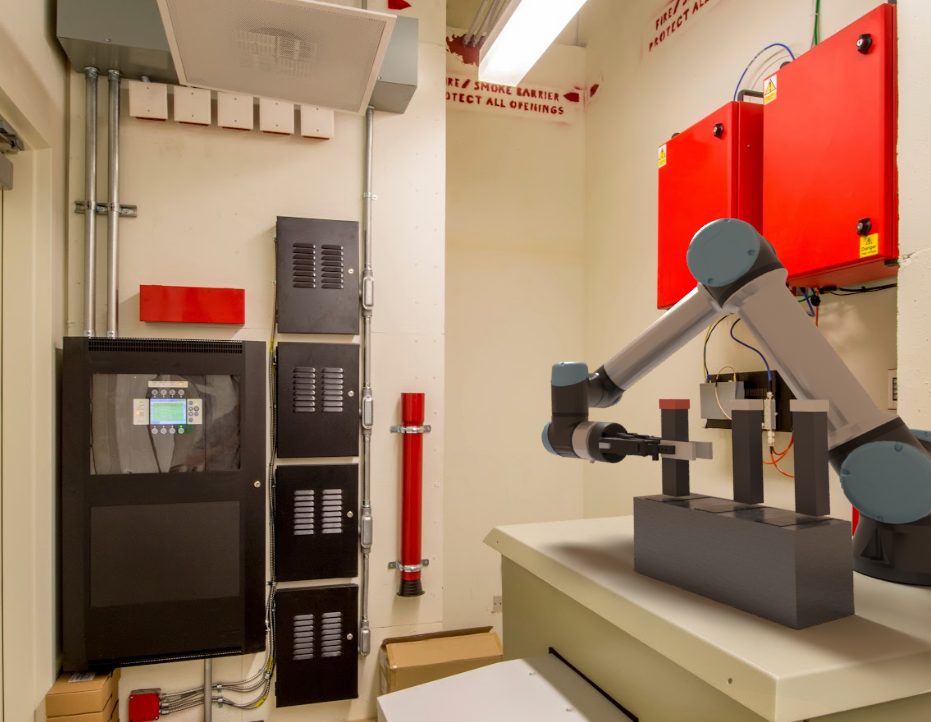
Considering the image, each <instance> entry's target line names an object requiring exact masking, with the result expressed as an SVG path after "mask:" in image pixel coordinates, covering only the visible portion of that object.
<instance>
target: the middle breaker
mask: <svg viewBox="0 0 931 722" xmlns="http://www.w3.org/2000/svg"><path fill="white" fill-rule="evenodd" d="M728 402H729V403H728V407H729V408H728V410H730V413H731V414H730V415H731V417H730V418H731V452H732V453H731V456H732V457H731V459H732V491H733V493H732V497H733V499H732V500H733V502H738V503H744V504H749V505H753V504H760V505H762V504H765V493H764V491H765V489H764V487H765V486H764V455H763V453H764V452H763V451H764V450H763V447H764V446H763V415H762V414H763V413H762V411H764V410H765V409H764V399H763V398H761V399H758V398H757V399H754V398H753V399H752V398H751V399H749V398H745V399H744V398H742V399H741V398H739V399H737V398H736V399H734V398H733V399H732V398H731V399H730V398H729V399H728Z"/></svg>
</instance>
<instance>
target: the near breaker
mask: <svg viewBox="0 0 931 722" xmlns="http://www.w3.org/2000/svg"><path fill="white" fill-rule="evenodd" d="M789 411H790V412H792V436H793V437H792V442H793V444H792V446H793V477H794V480H793V481H794V506H795V507H794V511H795V513H799V514H805V515H810V516H816V517H818V516H830V515H831V497H830V469H829V468H830V463H829V461H828V431H827V411H829V400H798V399H789Z"/></svg>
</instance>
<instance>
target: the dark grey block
mask: <svg viewBox="0 0 931 722" xmlns="http://www.w3.org/2000/svg"><path fill="white" fill-rule="evenodd" d="M632 498H633V499H632V500H633V563H634V564H633V566H634V567H633V569H634V570H633V571H634V572H636V573H638V574H641V575H644V576H647V577H648V578H649V577H650V578H653V579H654V580H658V581H660V582H663V583H666V584H668V585H671V586H674V587H677V588H679V589H682V590H686V591H688V592H691V593H694V594H697V595H700V596H702V597H705V598H708V599H710V600H713V601H715V602H719V603H721V604H724V605H726V604H727V606H729V605H730V606H729V607H732V608H734V609H735V608H736V609H739V610H740V609H741V611H743V610H744V611H743V612H746V613H749V614H751V613H752V615H755V616H757V617H761V618H763V619H765V620H768V621H770V622H774V623H777V624H780V625H782V626H784V627H788V628H790V629H793V630H796V631H798V630H802V629H805V628H810V627H813V626H816V625H820V624H823V623H827V622H830V621H835V620H837V619H841V618H842V619H843V618H845V617H849V616H852V615H855V612H856V611H855V585H854V581H855V580H854V569H853V551H852V539H853V532H852V531H853V525H852V521H851V520H845V519H844V518H840V517H839V518H838V517H832V516H828V515H825V516H818V517H816V516H810V515H805V514H799V513H795V509H794V510H793V509H788V508H781V507H775V506H772V505H771V506H770V505H764V504H753V505H749V504H744V503H738V502H733V499H730V498H725V497H720V496H714V495H708V494H702V493H696V492H691V491H690V496H682V497H674V496H668V495H663V494H662V493H659V494H649V495H640V496H633V497H632Z"/></svg>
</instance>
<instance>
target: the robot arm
mask: <svg viewBox="0 0 931 722" xmlns="http://www.w3.org/2000/svg"><path fill="white" fill-rule="evenodd" d="M686 263H687V264H686V265H687V267H688V269H689V272H690V274H691V275H692V276H693V278H694V280H696V281H697V285H696V287H694V288H693V289H692V290H691V291H690V292H689V293H687V294H686V295H685V296H684V297H683V298H681V299H680V300H679V301H678V302H677V303H676V304H674V305H673V306H671V307H670V308H669V309H668V310H667V311H666V312H664V313H663V314H661V316H660V317H658V318H657V320H655V321H654V322H652V323H651V324H650V325H649V326H647V327H646V328H645V329H644V330H643V331H642V332H641V333H639V334H638V335H637V336H635V337H634V338H633V339H632V340H630V341H629V342H628V343H627V344H626V345H624V346H623V347H622V348H621V349H619V350H618V351H617V352H616V353H614V354H613V355H612V356H611V357H610V358H609V359H608V360H606V361H605V362H604V363H603V364H602V365H600V367H598V368H597V369H595V370H594V371H593V372H589V366H588V365H587V363H586V362H582V361H563V362H562V361H561V362H559V361H558V362H555V363H554V364H552V365H551V366H552V367H551V377H550V379H551V380H550V398H551V399H550V401H551V405H550V407H551V416H550V419H551V420H549V421H548V422H546V423H545V425H544V426H543V430H542V432H541V442H542V445H543V447H544V449H545V450H546V451H547V452H548V453H550V454H551V455H555V456H559V457H561V458H571V459H577V460H578V459H580V460H589V463H590V464H594V463H595V462H602V463H607V464H618V463H621V462H622V461H623V460H624V459H626V456H637V457H638V456H639V457H642V458H646V457H648V456H649V457H651V461H652V462H659V461H660V457H661V458H662V457H665V458H674V459H683V460H689V461H693V462H695V461H697V459H702V460H703V459H704V460H713V459H714V458H713V456H714V455H713V454H714V452H713V441H705V440H692V439H691V440H690V439H689V442H680V441H667V440H661V437H660V436H655V435H648V434H638V432H628V430H627V429H626V428H625V427H624V426H623V425H622V424H620V423H618V422H610V421H609V422H608V421H607V422H606V421H599V420H598V421H594V420H589V417H590V412H589V411H590V410H589V409H590V408H591V409H592V408H593V409H595V408H596V409H597V408H598V409H606V408H610V407H614V406H615V405H618V403H620V401H621V400H622V397H623V395H624V393H625V392H626V391H628V390H629V389H630V388H632V387H633V386H634V385H635V384H636V383H638V382H639V381H640V380H642V379H643V378H644V377H646V376H647V375H648V374H649V373H650V372H652V371H653V370H654V369H656V368H658V366H659V365H661V364H662V363H664V362H665V361H666V360H668V359H669V358H670V357H671V356H673V355H674V354H675V353H676V352H678V351H679V350H681V349H682V348H683V347H684V346H686V344H688V343H689V342H691V341H692V340H693V339H695V338H696V337H697V336H699V335H700V334H701V333H702V332H704V330H706V329H708V328H709V327H710V326H712V325H713V324H714V323H715V322H716V321H718V320H719V319H721V318H722V317H723V316H733V315H734V314H736V315H737V316H738V318H739V319H740V320H741V322H742V323H743V324H744V327H746V328H747V330H748V331H749V332H750V334H751V335H752V337H753V339H755V341H756V343H757V344H758V345H759V347H760V349H761V350H762V351H763V353H764V354H765V355H766V357H767V358H768V360H769V362H770V363H771V364H772V365H773V367H774V368H775V370H776V371H777V373H778V375H779V376H780V377H781V378H782V379H783V381H784V382H785V384H786V386H787V387H788V388H789V390H791V393H792V394H793V395H794V396H795V398H796V400H829V411H827V431H828V461H829V466H830V467H832V470H833V471H834V472H835V473H836V475H837V476H838V478H839V482H840V487H841V489H842V490H843V494H844V496H845V498H846V499H847V500H848V502H849V503H850V504H851V505H852V506H853V507H854V508H855V509H856V510H857V511H858V523H857V525H856V528H855V531H854V534H853V535H852V551H853V571H856V572H858V573H862V574H864V575H867V576H871V577H874V578H879V579H882V580H887V581H891V582H892V581H893V582H897V583H904V584H905V583H906V584H912V585H920V586H921V585H922V586H923V585H924V586H931V430H927V429H926V430H925V429H916V428H914V429H913V428H909V426H908V425H907V424H906V423H905V421H904V420H903V419H902V418H901V417H900V415H899V414H897V413H892V412H887V411H884V410H882V409H880V407H879V406H878V405H877V403H876V402H875V401H874V400H873V399H872V397H871V396H870V394H869V393H868V392H867V390H866V389H865V388H864V387H863V385H862V384H861V383H860V381H859V380H858V379H857V377H856V376H855V375H854V374H853V372H852V371H851V370H850V368H849V367H848V365H847V364H846V363H845V361H844V360H843V359H842V358H841V356H840V355H839V354H838V352H837V350H835V348H834V347H833V346H832V344H831V343H830V342H829V340H828V339H827V338H826V337H825V335H824V334H823V332H822V331H821V330H820V328H819V327H818V326H817V325H816V323H815V322H814V321H813V319H812V317H810V315H809V314H808V313H807V312H806V310H805V309H804V307H803V306H802V305H801V303H800V302H799V301H798V300H797V298H796V297H795V295H794V294H793V293H792V292H791V291H790V289H789V288H788V287H787V285H786V283H787V278H788V275H789V272H788V270H787V269H786V267H785V265H784V264H783V263H782V262H781V261H780V259H779V257H778V254H777V250H776V249H775V246H774V245H773V244H772V243H771V242H770V240H768V239H766V238H765V236H763V235H761V233H759V231H758V230H756V228H755V227H754V226H753V225H751V224H750V223H749V222H746V221H745V220H740V219H738V218H731V217H730V218H729V217H727V218H719V219H715V220H713V221H710V222H708V223H707V224H705V225H704V226H703V227H701V228H700V229H699V230H697V232H695V234H694V236H693V237H692V239H691V241H690V243H689V245H688V249H687V252H686Z"/></svg>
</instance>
